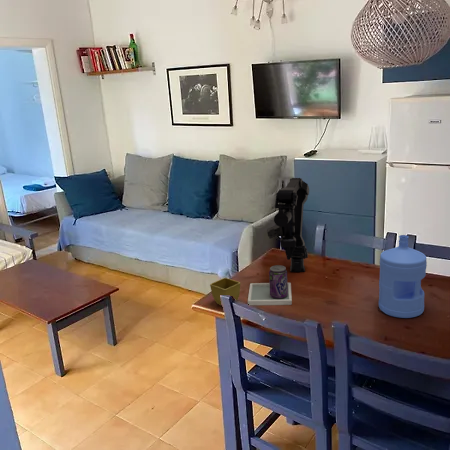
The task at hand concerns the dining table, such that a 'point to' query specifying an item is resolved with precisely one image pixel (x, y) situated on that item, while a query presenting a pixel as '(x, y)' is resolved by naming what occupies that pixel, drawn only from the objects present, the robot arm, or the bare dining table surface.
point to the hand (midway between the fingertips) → (288, 255)
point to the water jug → (402, 280)
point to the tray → (266, 295)
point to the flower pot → (225, 289)
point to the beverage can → (278, 281)
